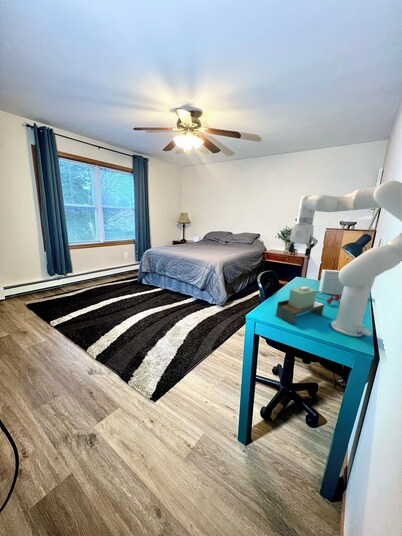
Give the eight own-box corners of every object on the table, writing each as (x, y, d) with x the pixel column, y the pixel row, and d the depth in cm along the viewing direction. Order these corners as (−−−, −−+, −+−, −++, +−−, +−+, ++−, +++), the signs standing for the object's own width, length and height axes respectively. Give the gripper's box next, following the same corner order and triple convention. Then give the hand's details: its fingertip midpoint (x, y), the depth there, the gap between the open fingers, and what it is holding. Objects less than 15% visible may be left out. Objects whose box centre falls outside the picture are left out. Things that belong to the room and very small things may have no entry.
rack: (322, 315, 114) (325, 301, 112) (292, 324, 102) (295, 309, 100) (305, 307, 122) (307, 295, 120) (275, 315, 110) (277, 301, 108)
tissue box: (314, 305, 111) (317, 288, 108) (299, 309, 105) (302, 291, 102) (302, 300, 116) (305, 284, 114) (287, 304, 110) (290, 287, 108)
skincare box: (349, 293, 150) (354, 271, 146) (353, 296, 144) (359, 273, 140) (317, 290, 151) (322, 268, 147) (321, 293, 146) (325, 271, 142)
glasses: (327, 306, 126) (329, 298, 125) (302, 296, 140) (303, 288, 138) (340, 302, 133) (342, 294, 132) (315, 293, 147) (316, 286, 145)
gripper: (285, 219, 116) (280, 251, 120) (316, 222, 102) (309, 257, 106) (294, 220, 120) (289, 250, 124) (325, 222, 105) (318, 256, 110)
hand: (298, 253), depth 115 cm, fingers open, 9 cm apart
